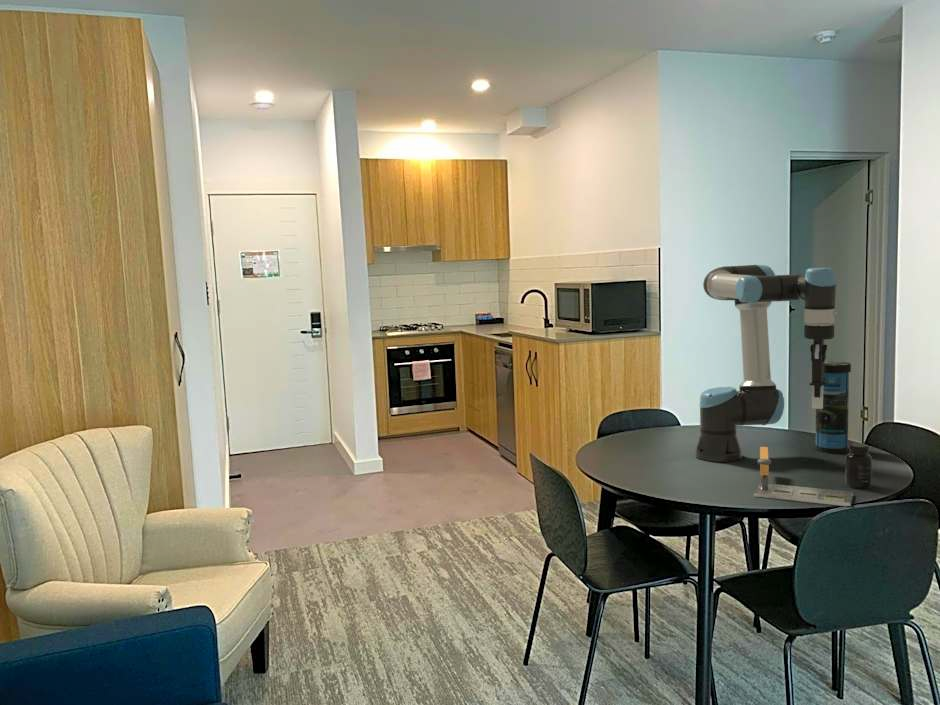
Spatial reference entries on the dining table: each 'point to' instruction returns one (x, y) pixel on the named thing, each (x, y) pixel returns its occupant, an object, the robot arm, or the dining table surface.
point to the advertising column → (834, 409)
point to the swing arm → (764, 461)
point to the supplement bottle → (858, 467)
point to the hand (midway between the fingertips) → (817, 407)
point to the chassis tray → (802, 493)
